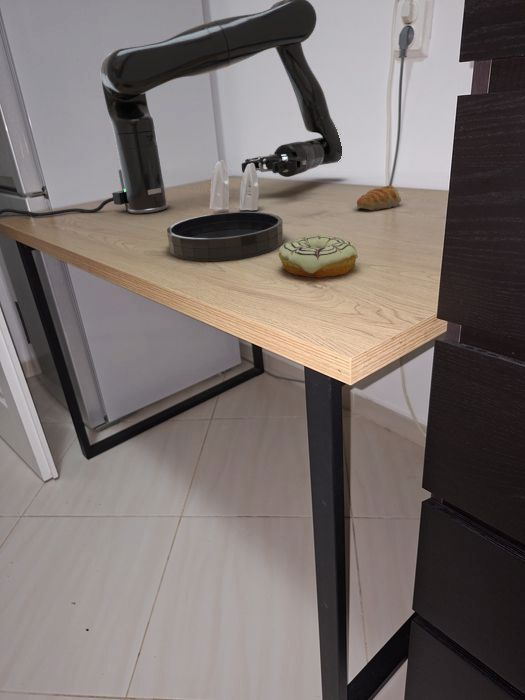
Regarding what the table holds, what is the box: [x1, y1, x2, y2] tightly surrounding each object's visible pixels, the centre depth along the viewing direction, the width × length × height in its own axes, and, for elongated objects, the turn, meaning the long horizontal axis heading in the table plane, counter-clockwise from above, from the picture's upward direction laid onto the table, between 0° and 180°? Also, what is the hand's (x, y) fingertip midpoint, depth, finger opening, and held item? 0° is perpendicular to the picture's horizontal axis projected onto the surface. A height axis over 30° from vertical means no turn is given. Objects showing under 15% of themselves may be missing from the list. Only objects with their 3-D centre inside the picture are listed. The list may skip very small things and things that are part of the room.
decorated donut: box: [278, 235, 359, 279], centre depth 69 cm, size 10×11×4 cm
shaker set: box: [209, 159, 260, 214], centre depth 107 cm, size 12×4×11 cm, turn 112°
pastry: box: [356, 185, 402, 211], centre depth 103 cm, size 9×7×4 cm
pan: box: [166, 211, 284, 262], centre depth 85 cm, size 19×19×4 cm
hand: (258, 168), depth 113 cm, fingers open, 8 cm apart
